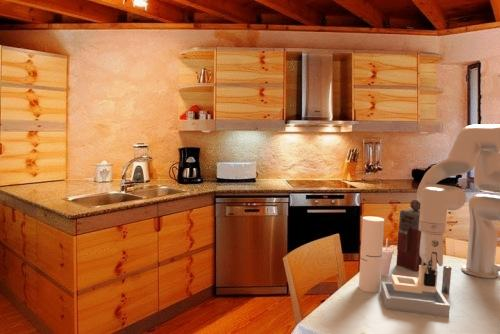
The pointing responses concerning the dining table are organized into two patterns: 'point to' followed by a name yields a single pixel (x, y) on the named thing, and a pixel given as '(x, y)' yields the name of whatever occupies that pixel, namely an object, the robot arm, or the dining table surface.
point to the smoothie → (386, 259)
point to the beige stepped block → (412, 282)
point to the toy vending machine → (409, 238)
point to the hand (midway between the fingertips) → (427, 282)
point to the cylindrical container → (371, 253)
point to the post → (446, 279)
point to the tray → (415, 301)
